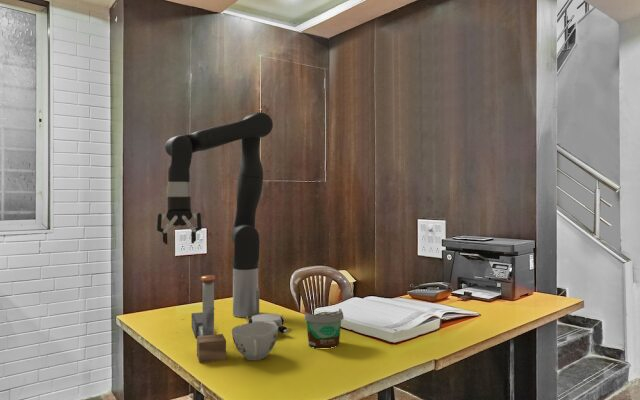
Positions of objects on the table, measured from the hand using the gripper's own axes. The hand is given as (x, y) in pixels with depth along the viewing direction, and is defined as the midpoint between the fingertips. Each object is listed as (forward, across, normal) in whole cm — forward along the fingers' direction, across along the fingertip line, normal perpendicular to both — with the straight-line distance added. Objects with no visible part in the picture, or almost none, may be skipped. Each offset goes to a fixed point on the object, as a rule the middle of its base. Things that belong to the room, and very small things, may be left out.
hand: (179, 243), depth 154 cm
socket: (+28, +6, -34) cm, 44 cm away
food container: (+28, +39, -37) cm, 61 cm away
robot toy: (+29, +26, -17) cm, 42 cm away
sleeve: (+28, +6, -8) cm, 30 cm away
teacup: (+28, +17, -39) cm, 51 cm away
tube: (+27, +6, -23) cm, 36 cm away
